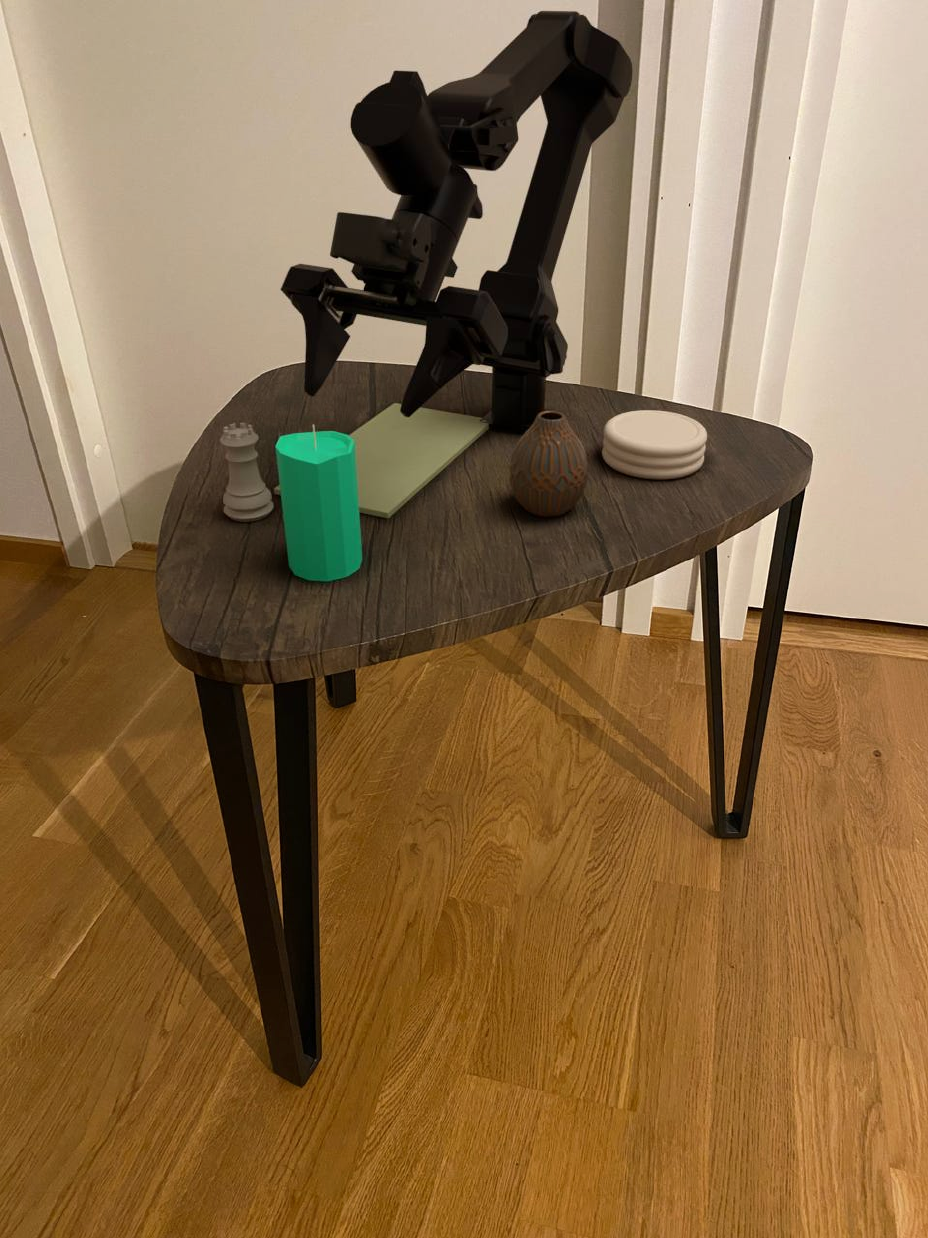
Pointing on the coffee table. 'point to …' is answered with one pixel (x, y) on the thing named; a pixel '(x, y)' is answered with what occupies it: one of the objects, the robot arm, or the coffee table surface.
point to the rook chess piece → (244, 476)
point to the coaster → (654, 444)
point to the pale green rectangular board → (406, 454)
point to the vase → (548, 466)
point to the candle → (320, 504)
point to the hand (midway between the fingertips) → (355, 404)
